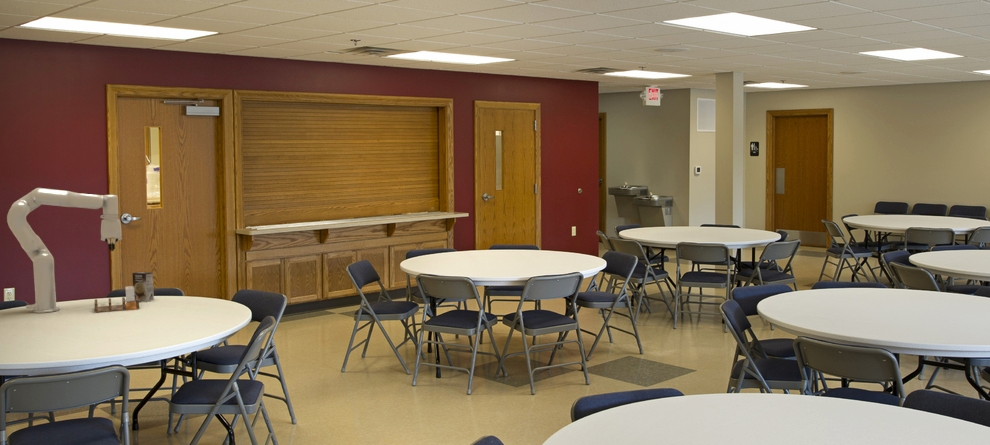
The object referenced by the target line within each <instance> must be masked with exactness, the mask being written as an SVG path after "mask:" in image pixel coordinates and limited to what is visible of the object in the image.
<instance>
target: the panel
mask: <svg viewBox="0 0 990 445" xmlns="http://www.w3.org/2000/svg"><path fill="white" fill-rule="evenodd" d="M129 302H136V301H135V295H134V286H133V285H130V286H125V304H126V303H129Z"/></svg>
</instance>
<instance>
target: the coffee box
mask: <svg viewBox="0 0 990 445" xmlns="http://www.w3.org/2000/svg"><path fill="white" fill-rule="evenodd" d="M132 286H134V295H135V302H136V296H138V298H139V301H140V302H141V301H142V302H144V303H148V302H151V301H154V300H155V298H154V297H155V296H154V295H155V293H154V292H155V291H154V272H152V271H135V272H132ZM140 302H139V303H140ZM142 302H141V303H142Z"/></svg>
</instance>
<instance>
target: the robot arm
mask: <svg viewBox="0 0 990 445" xmlns="http://www.w3.org/2000/svg"><path fill="white" fill-rule="evenodd" d="M42 205H45V206H46V205H47V206H53V207H54V206H57V207H66V208H81V209H91V210H99V209H100V208H102V215H100V219H101V223H100V224H101V225H100V236H101V237H100V241H103V242H105V243H107V244H108V250H109V251H110V252H114V250H116V246H115V245H116V243H117V242H118V241H122V240H123V237H122V234H123V233H122V222H121V219H119V197H118V195H116V194H104V195H103V194H101V195H100V194H88V193H79V192H75V191H69V190H62V189H56V188H55V189H54V188H43V187H36V188H35V189H33V190H31V191H30V192H28V193H27V194H26V195H24V196H22V197H21V198H19V199H18V200H16V201H14V202H13V203H12V205H11V207H10V208H9V210H8V213H7V216H6V222H7V224H8V228H9V229H10V231H11V232H12V234H13V235H14V237H15V238H16V240H17V241H18V242H19V244H20V247H21V248H22V249H23V250H24V252H25V253H26V254H27V256H28V258H30V260H31V261H32V266H33V279H34V280H33V282H34V295H35V296H34V297H35V298H34V299H35V303H33V304H26V305H25V306H26V307H25V308H26V309H27V310H28V309H29V310H30V309H32V313H33V314H34V313H36V314H43V313H44V314H45V313H52V312H57V311H60V307H59V306H57V296H56V295H57V294H56V279H55V258H54V256H53V255H52V253H51V252H50V250H49V249H48V248H47V246H46V245H45V243H44V242H43V240H42V239H41V238H40V236H39V234H38V235H37V234H36V233H35V232H34V230H33V229H32V227H31V225H30V223H29V222H28V221H27V216H28V215H29V214H30V213H31V212H32V211H34V210H35V209H37V208H39V207H40V206H42ZM111 239H112V242H111Z"/></svg>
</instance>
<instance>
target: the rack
mask: <svg viewBox="0 0 990 445" xmlns="http://www.w3.org/2000/svg"><path fill="white" fill-rule="evenodd" d="M121 300H122V302H121V303H122V304H116V305H115V304H114V305H112V298H108V305H102V306H99V305H98V299H96V298H95V299H94V313H95V314H97V313H109V312H112V313H113V312H121V311H122V312H123V311H133V310H136V311H137V310H140V302H139V298H138V296H136V301H135V302H129V303H126V296H123V297H121Z"/></svg>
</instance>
